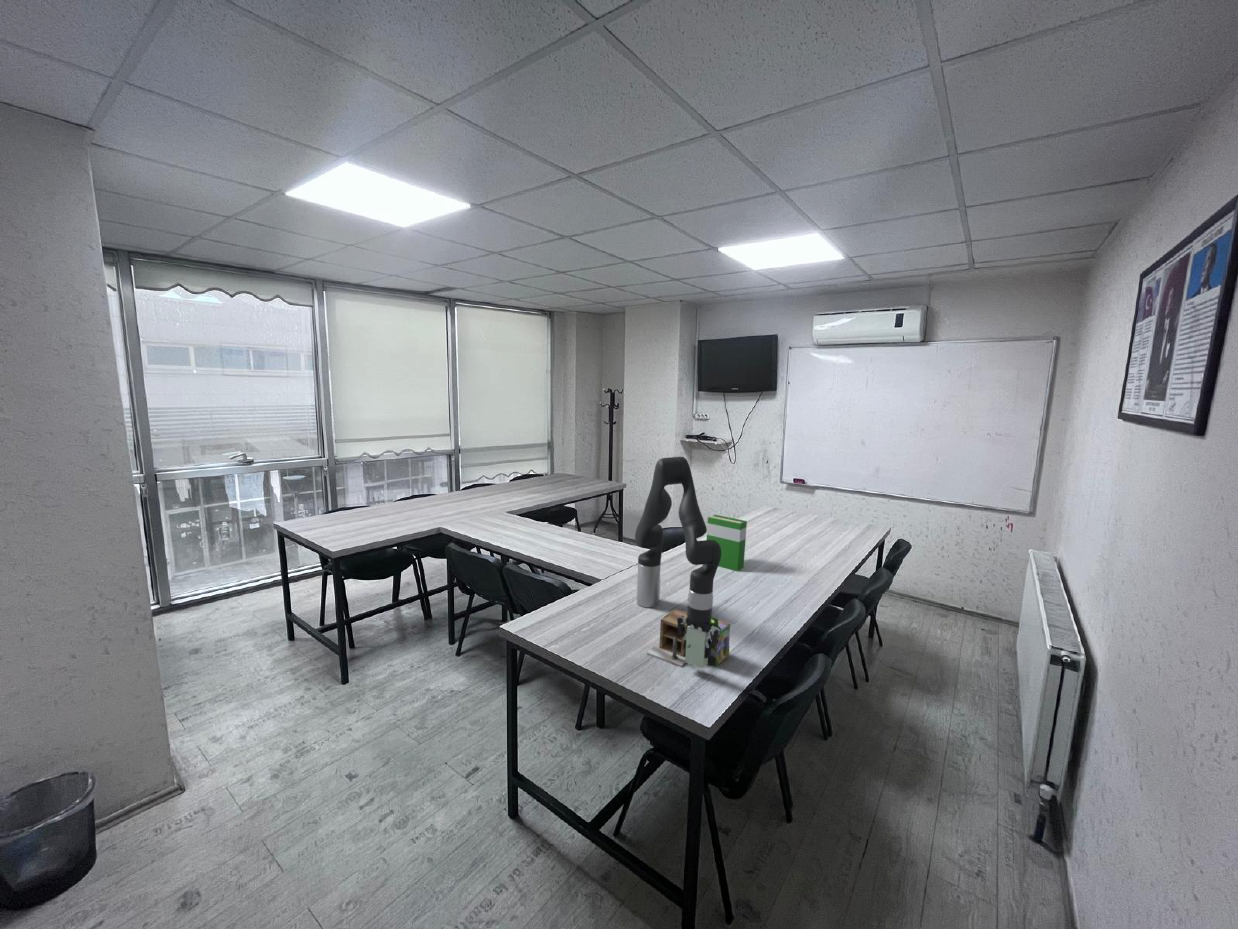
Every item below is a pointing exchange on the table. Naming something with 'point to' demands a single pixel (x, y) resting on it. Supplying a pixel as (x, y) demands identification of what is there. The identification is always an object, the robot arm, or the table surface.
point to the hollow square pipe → (696, 647)
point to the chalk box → (720, 643)
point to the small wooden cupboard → (670, 640)
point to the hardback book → (728, 540)
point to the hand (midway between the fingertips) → (696, 653)
